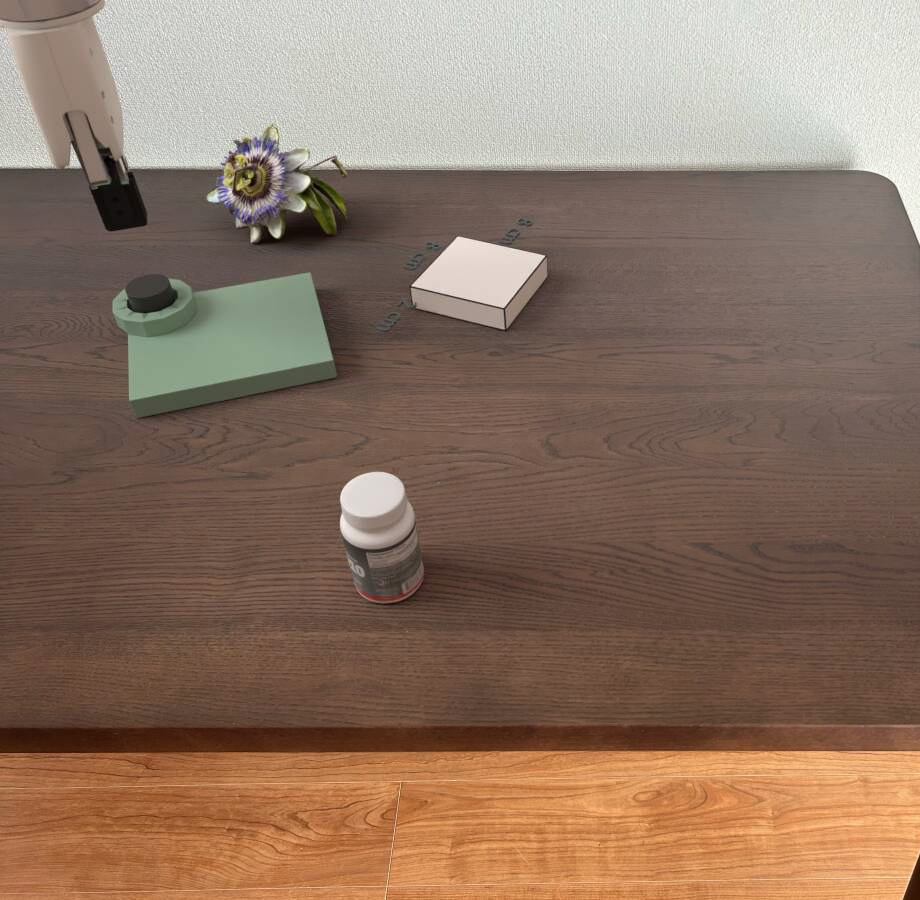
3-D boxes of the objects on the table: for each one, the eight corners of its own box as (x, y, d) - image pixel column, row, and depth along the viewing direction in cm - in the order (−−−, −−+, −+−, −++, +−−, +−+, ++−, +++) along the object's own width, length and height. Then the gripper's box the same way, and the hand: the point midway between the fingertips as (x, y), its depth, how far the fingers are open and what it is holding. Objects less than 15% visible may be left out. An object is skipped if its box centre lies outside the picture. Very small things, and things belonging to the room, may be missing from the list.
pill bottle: (349, 562, 67) (326, 476, 61) (416, 544, 68) (400, 459, 63) (361, 614, 64) (339, 529, 58) (432, 594, 65) (417, 509, 59)
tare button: (131, 317, 82) (125, 300, 81) (131, 295, 85) (124, 278, 84) (176, 310, 83) (170, 293, 82) (174, 287, 86) (168, 270, 84)
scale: (126, 420, 77) (111, 387, 75) (125, 318, 88) (112, 285, 85) (337, 377, 82) (330, 344, 79) (313, 284, 92) (306, 252, 89)
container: (479, 365, 83) (476, 340, 81) (363, 335, 86) (358, 310, 84) (569, 249, 97) (568, 226, 95) (466, 227, 100) (464, 204, 98)
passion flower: (272, 285, 101) (176, 202, 94) (314, 218, 107) (228, 134, 101) (337, 251, 94) (240, 158, 88) (379, 181, 100) (291, 89, 94)
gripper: (-12, -41, 70) (80, 188, 83) (-32, 34, 60) (76, 281, 73) (98, -51, 72) (172, 174, 85) (96, 20, 62) (180, 263, 75)
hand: (127, 223), depth 79 cm, fingers closed
